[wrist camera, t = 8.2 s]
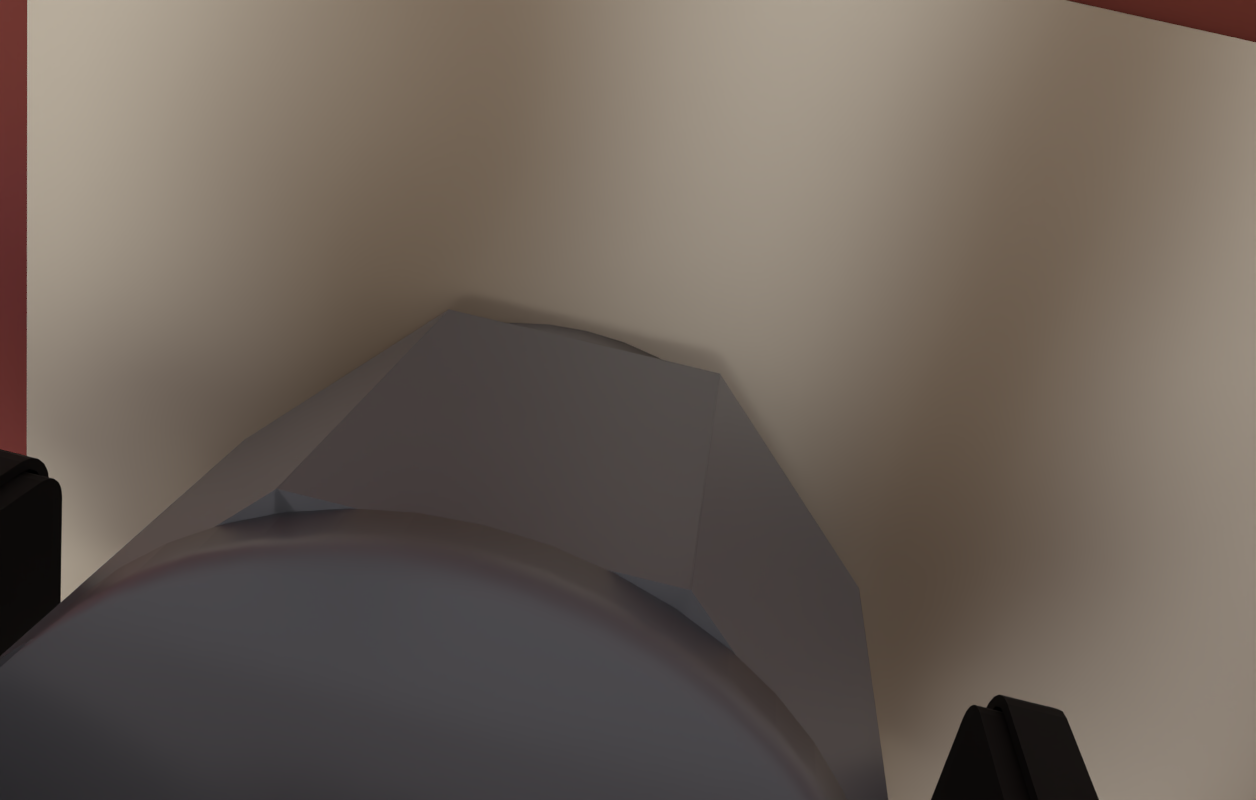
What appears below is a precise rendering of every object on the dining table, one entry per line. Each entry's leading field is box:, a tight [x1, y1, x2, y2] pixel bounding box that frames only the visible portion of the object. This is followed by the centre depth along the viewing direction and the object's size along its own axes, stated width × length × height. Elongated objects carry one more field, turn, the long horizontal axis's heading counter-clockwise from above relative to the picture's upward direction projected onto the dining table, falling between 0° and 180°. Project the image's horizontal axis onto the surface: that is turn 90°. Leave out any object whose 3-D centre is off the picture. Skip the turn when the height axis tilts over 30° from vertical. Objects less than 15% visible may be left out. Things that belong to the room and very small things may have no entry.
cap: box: [0, 309, 888, 800], centre depth 10 cm, size 7×7×5 cm
